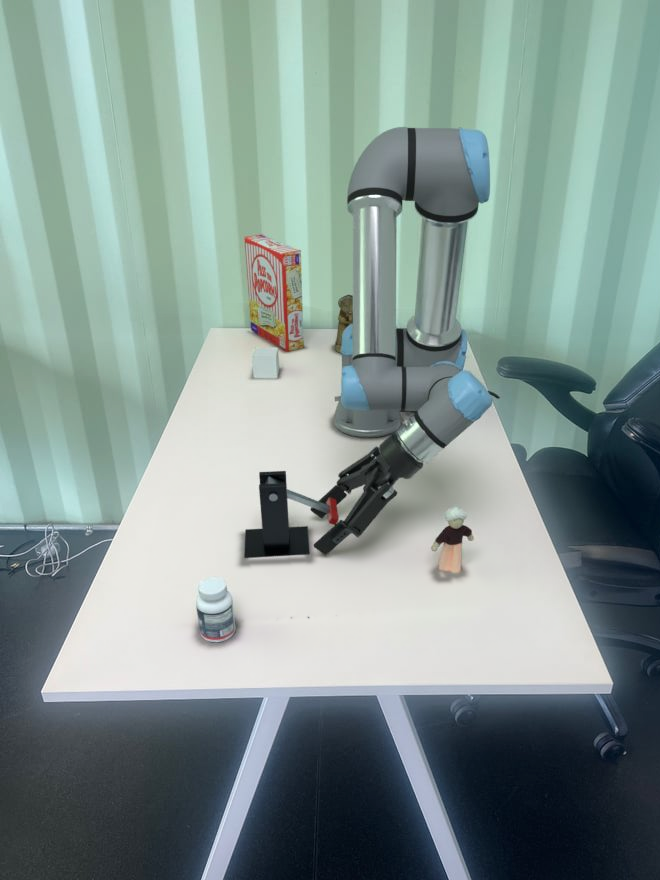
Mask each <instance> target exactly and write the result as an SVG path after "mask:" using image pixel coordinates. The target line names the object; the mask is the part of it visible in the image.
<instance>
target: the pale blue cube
mask: <svg viewBox="0 0 660 880" xmlns="http://www.w3.org/2000/svg"><path fill="white" fill-rule="evenodd" d="M251 360H252V361H251V362H252V372H253V379H278V376H279V372H280V356H279V347H260V346H259V347H257V346H256V347H254V349H253V351H252V355H251Z"/></svg>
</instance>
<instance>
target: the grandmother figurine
mask: <svg viewBox="0 0 660 880" xmlns="http://www.w3.org/2000/svg"><path fill="white" fill-rule="evenodd" d="M466 519H467V513H466V511H465V510H464V509H461V508H460V507H457V506H453V507H451V508H448V509H447V511H446V512H445V521H446V522H447V524H448V525H447V526H445V527H444V528H443V529H442V531H441V532H440V533H439V534H438V536H436V538H435V540H434V541H433V544H432V546H431V547H430V549H431V551H432V552H436V551H437V550H438V548H439V547H440V546H441V544H443V545H442V548H441V552H440V555H439V562H438V569H439V571H445V572H450V573H453V574H459V573H461V571H462V549H463V548H462V547H463V539H464V537H467V540H468V541H469V542H473V541H474V539H475V537H474V535H473V530H472V528H470V527H469V526H467V525H465V524H464V521H465V520H466Z"/></svg>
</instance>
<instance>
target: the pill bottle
mask: <svg viewBox="0 0 660 880" xmlns="http://www.w3.org/2000/svg"><path fill="white" fill-rule="evenodd" d="M197 590H198V595H197V597H196V600H195V606H196V613H197V621H198V625H199V633H200V636H201V637H202V638H203V640H205V641H207V642H210V643H220V642H225V641H227V640H229V639H230V638H231V637H232V636H233V635H234V634H235V632H236V627H237V626H236V619H235V611H234V603H233V596H232V593H231V592H230V591H228V586H227V582H226V580H224V579H223V578H221V577H218V576H210V577H207V578H204V579H202V580H201V581H199V583H198V586H197Z"/></svg>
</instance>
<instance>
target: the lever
mask: <svg viewBox="0 0 660 880" xmlns="http://www.w3.org/2000/svg"><path fill="white" fill-rule="evenodd" d="M276 483H284V482H282V481H279V480H277V479H274V478H271V477H268V478H267V480H266V482H265V484H276ZM287 499H289V500H292V501H294V502H296V503H300V504H302V505H304V506H307V507H310V508H311V507H312V508H315V509H317V510H320V511H323V512H325V513H327V514H326V515H327V520H328V521H327V522H328V524H330V525H333V526H335V525H336V524H337V523H338V522H339V520H340V519H339V511H338V505H337V503H336V499H333V498H331V497H329V499H328V500H327V502H326V504H324V503H321V502H319V500H316V499H313V498H311V497H308V496H306V495H303V494H301V493H299V492H296V491H293V490H290V489H288V488H287Z"/></svg>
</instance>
